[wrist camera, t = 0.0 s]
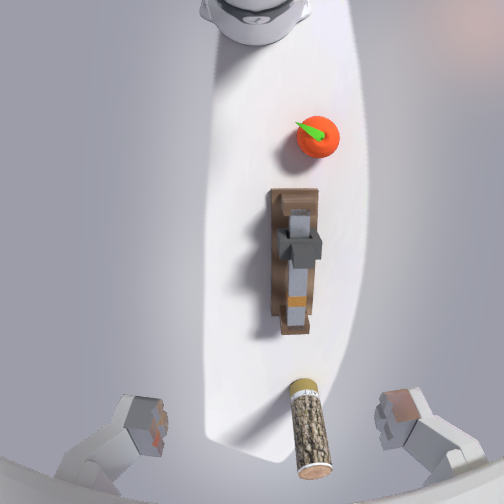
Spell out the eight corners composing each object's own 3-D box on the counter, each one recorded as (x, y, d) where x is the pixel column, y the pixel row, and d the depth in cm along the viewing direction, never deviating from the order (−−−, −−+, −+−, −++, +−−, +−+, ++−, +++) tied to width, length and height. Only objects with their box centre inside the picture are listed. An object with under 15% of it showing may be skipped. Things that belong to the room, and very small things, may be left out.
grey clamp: (277, 228, 54) (281, 251, 45) (315, 227, 54) (327, 250, 45) (277, 244, 56) (281, 271, 46) (314, 244, 56) (325, 270, 46)
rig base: (271, 188, 56) (273, 199, 48) (316, 188, 56) (326, 199, 48) (271, 311, 65) (273, 337, 57) (310, 310, 65) (316, 335, 57)
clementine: (281, 139, 52) (284, 141, 46) (301, 105, 50) (308, 103, 44) (321, 163, 54) (330, 169, 47) (341, 130, 52) (353, 131, 45)
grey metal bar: (288, 204, 51) (290, 209, 48) (307, 204, 51) (310, 209, 48) (285, 320, 60) (287, 330, 57) (302, 320, 60) (304, 329, 57)
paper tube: (301, 399, 76) (312, 482, 52) (283, 387, 74) (290, 474, 51) (322, 385, 74) (339, 469, 51) (304, 373, 72) (318, 461, 49)
